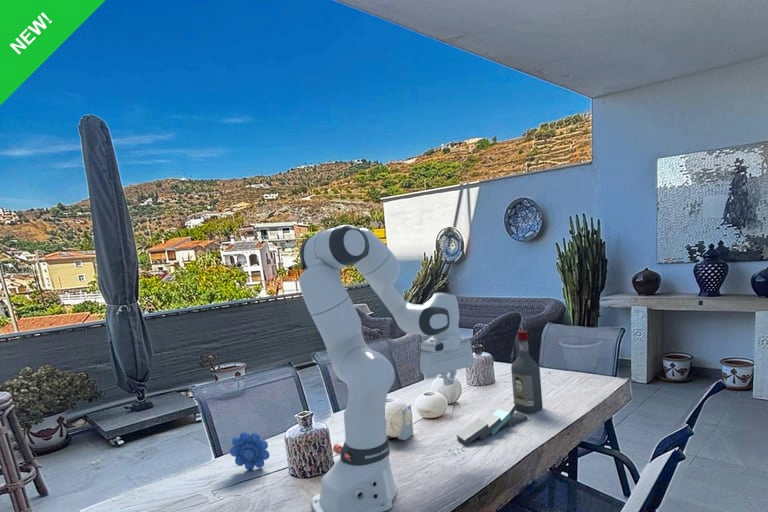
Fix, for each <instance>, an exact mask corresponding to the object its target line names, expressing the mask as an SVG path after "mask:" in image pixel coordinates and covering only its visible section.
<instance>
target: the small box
mask: <svg viewBox="0 0 768 512" xmlns="http://www.w3.org/2000/svg"><path fill="white" fill-rule="evenodd" d="M406 404H407V403H406ZM407 408H408V410H409V409H410V411H411V415H412V404H407V407H406V408H404V409H402V410H401V411H402V415H403V424H402V431H401V434H400V435H399V436H398V440H403V441H407V440H408V439H409V438H410V437H411V436H412V435H414V426H413V425H414V424H413V419H412V420H411V424H410V426H409V427H408V426H406V421H405V415H406V410H407Z"/></svg>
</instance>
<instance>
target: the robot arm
mask: <svg viewBox="0 0 768 512" xmlns="http://www.w3.org/2000/svg"><path fill="white" fill-rule="evenodd" d="M299 248H300V249H299V258H300V262H301V268H302V269H301V270H303V272H302V273H301V274H300V277H299V280H298V281H299V282H298V283H299V288H300V290H301V291H300V292H301V295H302V298H303V300H304V303H305V306H306V307H307V310H308V313H309V314H310V316H311V318H312V320H313V322H314V325H315V326H316V328H317V330H318V332H319V335H320V336H321V338H322V340H323V343H324V346H325V348H326V353H327V356H328V358H329V361H330V364H331V366H332V367H331V368H332V369H333V371H334V373H335V375H336V376H337V378H338V379H339V380H340V381H342V382H343V383H344V384H346V386H347V388H348V389H347V390H348V397H347V405H346V408H345V410H344V411H343V422H344V436H345V440H344V443H343V446H341V445H340V444H338V443H335V444H334V445H333V446H332V451H333V452H334V453H335V454H336V455H340V456H339V457H340V458H338V460H337V461H336V462H335V463H334V465H332V466H331V468H330V469H328V471H327V472H326V473H325V474H324V475H323V476H322V479H321V481H320V488H319V489H320V490H319V493H317V494H316V495H315V494H314V496H313V497H312V500H311V507H312V511H313V512H386V511H389V510H390V509H392V508H393V500H394V499H395V497H396V495H397V492H398V489H397V485H396V483H395V479H394V477H393V473H392V469H391V463H390V440H389V437H387V434H386V419H385V406H387V405H386V403H387V397H388V392H389V391H390V390H391V388H392V387H393V384H394V382H395V377H396V376H395V368H394V366H393V364H392V362H390V360H389V359H388V358H387V357H385V355H383V353H380V352H378V351H375V350H373V349H371V348H370V347H369V345H367V343H366V341H365V338H364V335H363V331H362V320H361V317H360V315H359V314H358V311H357V309H356V307H355V305H354V303H353V301H352V298H351V296H350V295H349V293H348V291H347V289H346V287H345V286H344V283H343V281H342V278H341V277H342V276H341V269H344V268H346V267H349V266H354V268H355V269H356V270H357V271H358V272H359V273H360V274H359V275H361V276H362V278H363V279H364V280H365V281H366V282H367V283H368V284H369V286H370V288H371V290H372V291H373V293H374V295H375V296H376V298H378V300H379V301H380V302H381V304H382V305H383V306H384V308H385V309H386V310H387V312H388V314H389V315H390V318H391V321H392V323H393V326H394V327H395V329H396V330H397V331H398V332H399V333H401V334H410V335H411V334H412V335H418V336H424V337H429V338H428V339H426V340H424V341H423V342H421V343H420V349H421V353H420V355H419V357H420V358H419V369H420V370H419V371H420V372H421V374H422V375H424V376H427V377H430V376H437V375H440V376H441V378H442V379H443V385H444V386H447V387H448V386H450V385H451V386H452V385H455V378H456V375H457V370H461V369H465V368H471V367H473V366H474V363H475V359H474V358H475V357H474V352H473V347H472V342H471V340H470V339H468V338H466V337H465V338H461V330H460V327H459V322H460V310H459V309H460V307H459V303H458V302H459V301H458V299H457V296H456V295H454V294H453V293H448V292H439V291H437V292H434V293H433V294H432V296H431V297H430V299H428V300H427V301H426V302H424V303H423V304H416V303H411V302H409V301H406V300H405V299H403V297H402V296H401V294H400V293H399V291H398V290H397V289H396V287H395V286H394V284H395V282H396V281H397V280H398V278H399V276H400V273H401V264H400V263H399V260H398V259H397V257H396V255H394V253H393V252H392V250H390V248H389V247H388V246H387V245H386V243H384V242H383V241H382V240H381V238H379V237H378V236H377V235H376V234H375V233H374V232H372V231H371V230H370V229H368V228H367V227H366V228H365V227H360V228H359V227H357V226H355V225H351V224H342V225H341V224H340V225H338V226H336V227H332V228H331V227H330V228H327V229H322V230H320V231H319V232H316V234H313V235H310V236H309V237H307V238H306V239H305V240H304V241H303V242H302V244H301V246H300V247H299ZM448 375H449V376H448Z"/></svg>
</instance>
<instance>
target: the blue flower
mask: <svg viewBox="0 0 768 512" xmlns="http://www.w3.org/2000/svg"><path fill="white" fill-rule="evenodd" d="M231 444H232V447H231V448H230V450H229V452H230V456H231V457H233V458H235V459H234V463H235V465H236V466H239V467H243V466H244V468H245V469H246V470H248V471H252V470H253V469H255V468H259V469H261V468H263V467H264V466H265V460H269V458H270V452H269V451H268V450H267V449H268V447H269V444H268V441H266V440H264V439H261V436H260V434H259V433H257V432H253V433H251V434H250V433H249V432H248V431H242V432H241V433H240V434H239V437H238V436H236V437H233V438H232V440H231Z"/></svg>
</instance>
